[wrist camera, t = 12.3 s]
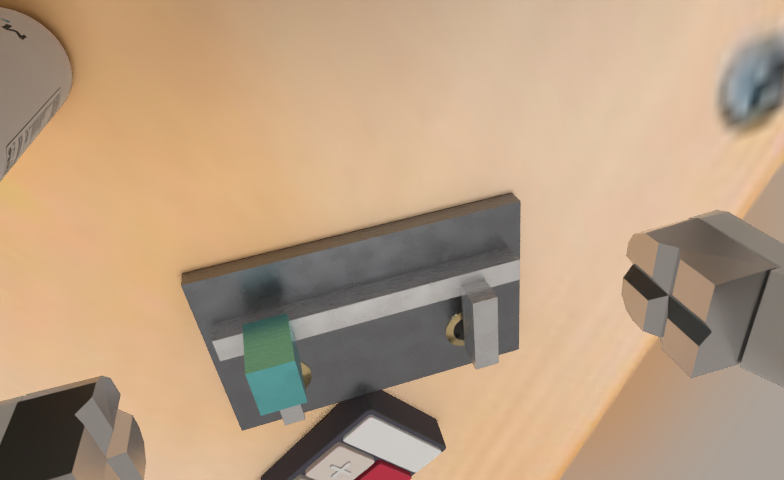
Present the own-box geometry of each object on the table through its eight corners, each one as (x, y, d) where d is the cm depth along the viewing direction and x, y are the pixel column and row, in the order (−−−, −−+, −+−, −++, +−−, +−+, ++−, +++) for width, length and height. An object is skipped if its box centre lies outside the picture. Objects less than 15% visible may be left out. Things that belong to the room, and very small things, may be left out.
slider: (284, 297, 41) (294, 360, 35) (308, 380, 45) (321, 447, 40) (241, 308, 40) (245, 374, 34) (270, 391, 45) (278, 460, 39)
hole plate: (511, 192, 44) (548, 228, 39) (511, 338, 52) (541, 382, 47) (182, 273, 39) (177, 324, 35) (241, 417, 48) (243, 474, 43)
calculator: (259, 510, 50) (371, 415, 47) (258, 469, 54) (362, 378, 50) (345, 537, 56) (450, 454, 52) (339, 498, 60) (437, 418, 56)
